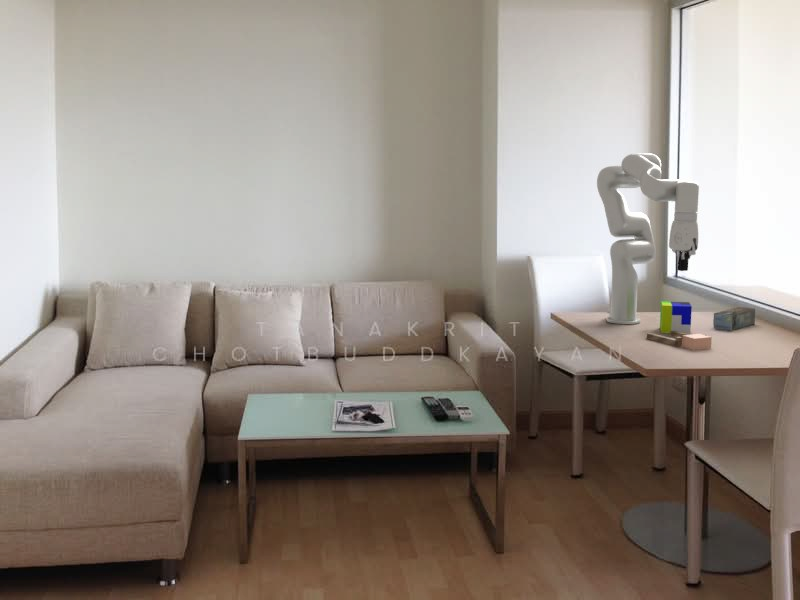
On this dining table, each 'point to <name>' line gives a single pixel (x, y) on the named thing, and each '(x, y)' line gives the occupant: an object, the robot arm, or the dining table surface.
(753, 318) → the beverage carton
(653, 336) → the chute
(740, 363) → the dining table surface
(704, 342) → the block
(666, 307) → the puzzle toy
